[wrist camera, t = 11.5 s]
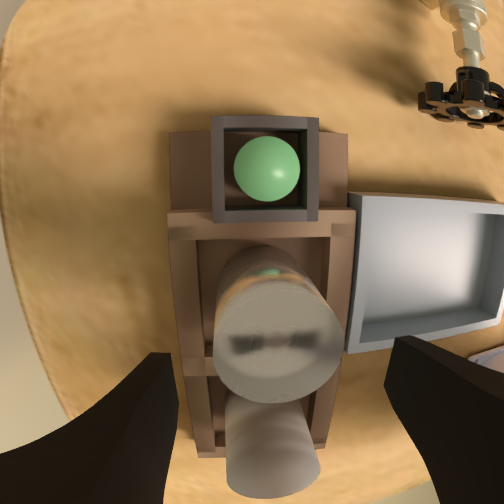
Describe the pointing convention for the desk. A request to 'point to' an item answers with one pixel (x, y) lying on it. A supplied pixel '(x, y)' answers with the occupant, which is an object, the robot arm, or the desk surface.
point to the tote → (423, 268)
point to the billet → (273, 328)
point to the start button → (266, 168)
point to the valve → (465, 71)
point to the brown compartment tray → (206, 277)
